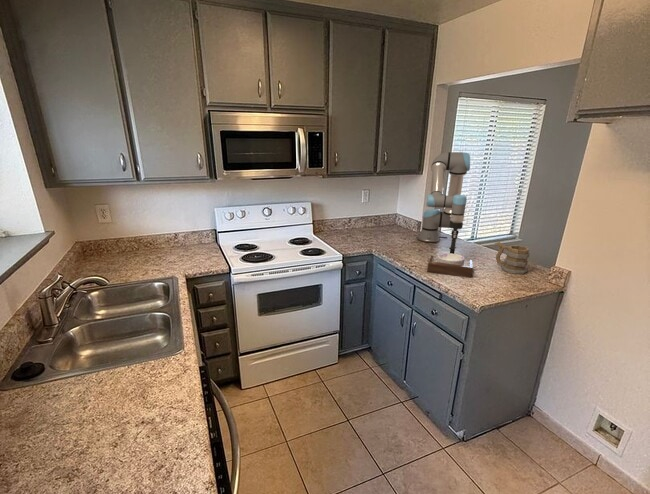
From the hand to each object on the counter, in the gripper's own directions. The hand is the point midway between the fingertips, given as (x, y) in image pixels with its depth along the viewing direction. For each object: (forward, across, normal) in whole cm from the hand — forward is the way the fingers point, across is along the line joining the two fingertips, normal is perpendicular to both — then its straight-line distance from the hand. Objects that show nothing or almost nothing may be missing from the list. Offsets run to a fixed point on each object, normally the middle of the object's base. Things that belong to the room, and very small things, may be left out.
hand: (451, 258), depth 222 cm
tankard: (+3, -3, +33) cm, 33 cm away
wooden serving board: (+3, +13, 0) cm, 13 cm away
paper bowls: (+3, +11, 0) cm, 12 cm away
